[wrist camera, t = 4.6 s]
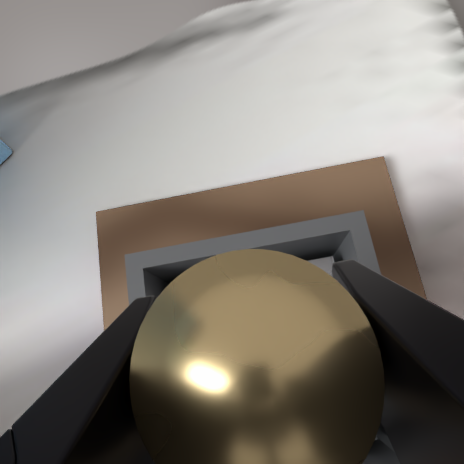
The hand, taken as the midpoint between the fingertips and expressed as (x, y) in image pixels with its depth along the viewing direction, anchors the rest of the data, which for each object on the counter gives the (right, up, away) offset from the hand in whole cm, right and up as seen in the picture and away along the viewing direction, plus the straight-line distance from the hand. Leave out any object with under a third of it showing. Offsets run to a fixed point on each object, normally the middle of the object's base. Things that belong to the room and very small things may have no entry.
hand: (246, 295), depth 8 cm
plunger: (+1, -3, +7) cm, 8 cm away
